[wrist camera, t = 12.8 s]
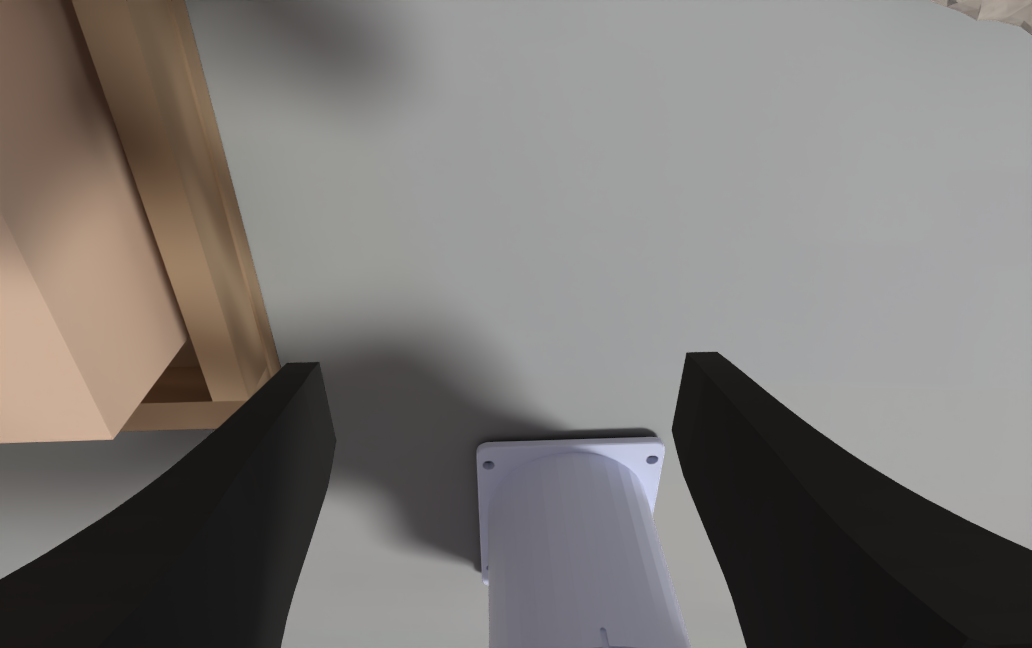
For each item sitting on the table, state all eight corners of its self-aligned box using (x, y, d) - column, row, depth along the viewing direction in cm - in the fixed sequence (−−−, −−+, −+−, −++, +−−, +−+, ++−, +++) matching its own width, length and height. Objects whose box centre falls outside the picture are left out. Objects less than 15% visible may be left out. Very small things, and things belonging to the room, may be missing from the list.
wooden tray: (283, 377, 23) (260, 427, 21) (58, 383, 23) (9, 434, 20) (115, -266, 13) (35, -310, 11) (-285, -272, 13) (-456, -320, 11)
